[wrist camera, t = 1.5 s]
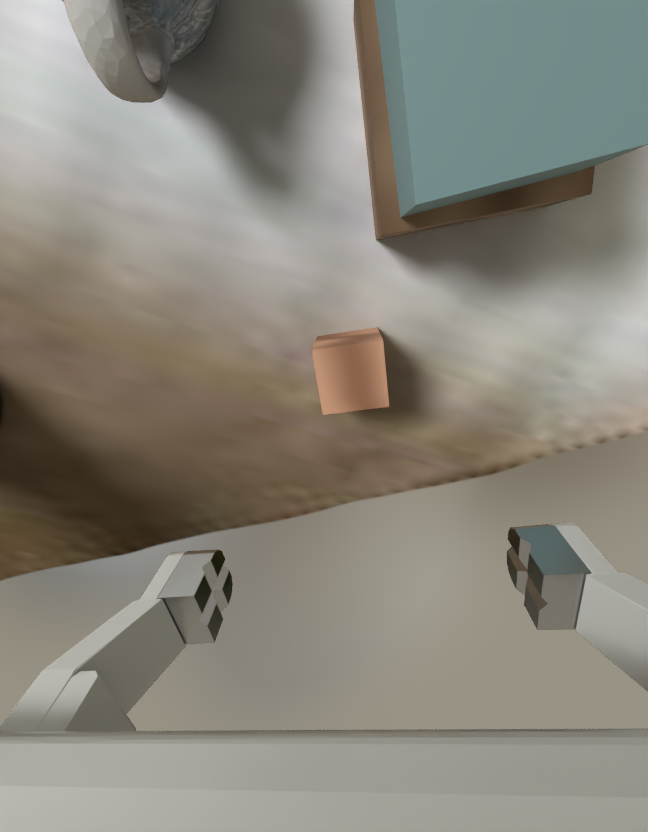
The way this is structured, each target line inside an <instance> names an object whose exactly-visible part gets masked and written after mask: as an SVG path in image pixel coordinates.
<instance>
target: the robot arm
mask: <svg viewBox="0 0 648 832" xmlns="http://www.w3.org/2000/svg"><path fill="white" fill-rule="evenodd" d="M508 540H509V542H510V544H511V545H512V547H511V548H510V549H509V550H508V551H507V565H508V570H509V574H510V576H511V579H512V581H513V584H514V586H515V587H516V589H517V590H519V591H520V592H521V593H523V594H524V595H525V602H524V605H525V607H526V609H527V611H528V613H529V615H530V617H531V619H532V620H533V622H534V624H535V626H536V628H537V630H552V629H553V630H557V629H576V632H577V633H578V634H580V635H581V636H582V637H583V638H584V639H585V640H587V641H588V642H589V643H590V644H592V645H593V646H594V647H595V648H596V649H597V650H599V651H600V652H601V653H602V654H604V655H605V656H606V657H607V658H608V659H609V660H611V661H612V662H613V663H614V664H615V665H617V666H618V667H619V668H621V669H622V670H623V671H624V672H625V673H626V674H628V675H629V676H630V677H631V678H632V679H633V680H635V681H636V682H637V683H638V684H639V685H641V686H642V687H643V688H644V689H645V690H647V691H648V584H647V583H645V582H643V581H641V580H640V579H638V578H636V577H634V576H632V575H630V574H628V573H626V572H618V571H617V570H616V569H615V568H614V567H613V566H612V565H611V564H610V562H609V561H608V560H607V559H606V558H605V557H604V556H603V554H601V552H600V551H599V550H598V549H597V548H596V547H595V545H594V544H593V543H592V542H591V541H590V540H589V539H588V537H587V536H586V535H585V534H584V533H583V532H582V531H581V530H580V528H579V527H578V526H577V525H576V524H574V523H572V522H567V523H555V524H550V525H549V524H545V525H534V526H523V527H511V528H510V529H509V532H508ZM224 561H225V558H224V555H223V553H222V551H220V550H204V551H188V552H172V553H171V554H169V555H168V556H167V557H166V558H165V560H164V562H163V563H162V565H161V566H160V568H159V570H158V571H157V573H156V574H155V576H154V578H153V579H152V581H151V582H150V584H149V586H148V587H147V589H146V590H145V592H144V593H143V595H142V597H141V598H140V600H135V601H133V602H132V603H130V604H129V605H128V606H126V607H125V608H124V609H122V610H121V611H120V612H118V613H117V614H116V615H115V616H113V617H112V618H111V619H109V620H108V621H107V622H105V623H104V624H103V625H102V626H100V627H99V628H98V629H96V630H95V631H94V632H92V633H91V634H90V635H88V636H87V637H86V638H84V639H83V640H82V641H80V642H79V643H78V644H77V645H75V646H74V647H73V648H71V649H70V650H69V651H67V652H66V653H65V654H64V655H62V656H61V657H59V658H58V659H57V660H56V661H54V662H53V663H52V664H50V665H49V666H48V667H46V668H45V669H44V670H43V671H42V672H41V673H40V674H39V676H38V677H37V679H36V680H35V681H34V682H33V684H32V685H31V686H30V688H29V689H28V690H27V692H26V693H25V694H24V696H23V697H22V698H21V700H20V701H19V702H18V703H17V705H16V706H15V707H14V709H13V710H12V711H11V713H10V714H9V715H8V717H7V718H6V719H5V721H4V722H3V723H2V725H1V726H0V832H648V729H485V730H484V729H479V730H478V729H472V730H470V729H469V730H467V729H465V730H464V729H462V730H268V731H267V730H266V731H265V730H261V731H258V730H255V731H254V730H252V731H250V730H249V731H136V728H135V726H134V725H133V723H132V722H131V721H130V719H129V718H128V716H127V715H126V714H127V713H128V712H129V711H130V710H131V708H132V707H133V706H134V705H135V704H136V703H137V702H138V700H139V699H140V698H141V697H142V696H143V695H144V694H145V692H146V691H147V690H148V689H149V688H150V686H152V684H153V683H154V682H155V681H156V680H157V679H158V677H159V676H160V675H161V674H162V673H163V672H164V670H165V669H166V668H167V667H168V666H169V665H170V664H171V662H172V661H173V660H174V659H175V658H176V657H177V656H178V655H179V653H180V652H181V651H182V650H183V649H184V648H185V644H198V643H213V642H215V640H216V637H217V634H218V632H219V629H220V626H221V623H222V620H223V618H222V615H221V611H222V610H223V609H224V608H225V607H226V606H227V605H228V604H229V600H230V598H231V594H232V576H231V574H230V571H229V570H228V569H227V568H226V567H224V566H223V563H224Z"/></svg>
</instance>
